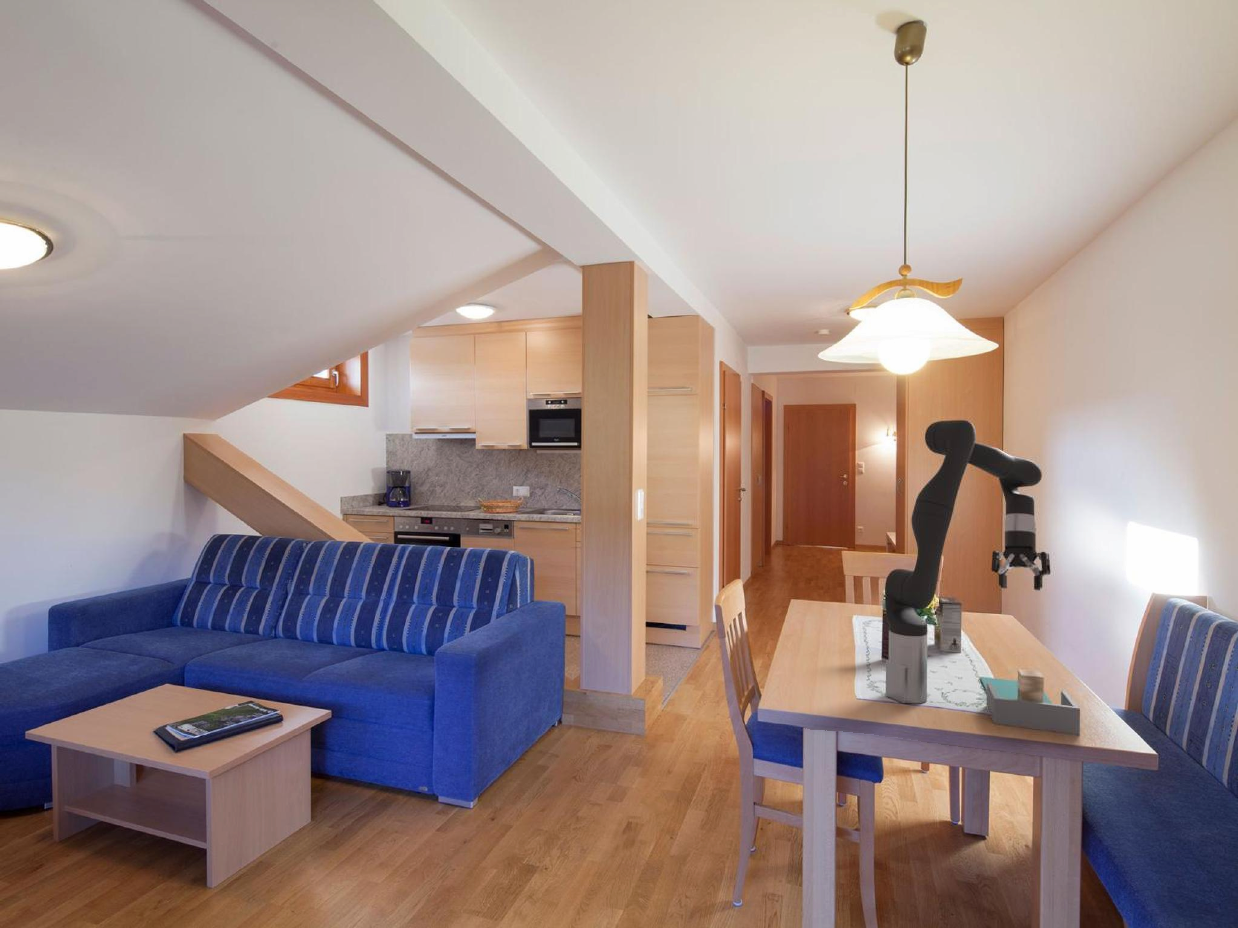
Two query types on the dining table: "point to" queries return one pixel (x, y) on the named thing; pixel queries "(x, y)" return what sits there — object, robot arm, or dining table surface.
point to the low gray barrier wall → (1034, 713)
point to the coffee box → (948, 625)
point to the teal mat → (1007, 688)
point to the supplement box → (885, 637)
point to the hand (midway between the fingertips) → (1020, 589)
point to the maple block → (1030, 686)
